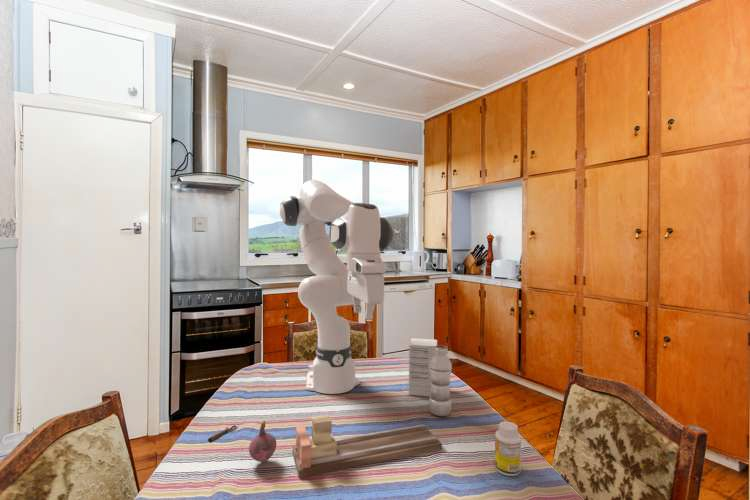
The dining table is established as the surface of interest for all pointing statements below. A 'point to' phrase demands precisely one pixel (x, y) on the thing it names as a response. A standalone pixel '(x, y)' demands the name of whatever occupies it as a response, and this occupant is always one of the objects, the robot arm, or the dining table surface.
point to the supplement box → (420, 366)
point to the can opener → (221, 433)
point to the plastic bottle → (440, 382)
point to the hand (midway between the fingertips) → (362, 315)
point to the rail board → (364, 449)
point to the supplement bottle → (508, 449)
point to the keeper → (322, 438)
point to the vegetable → (262, 445)
